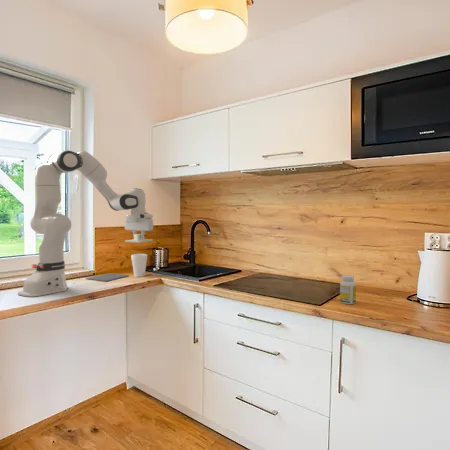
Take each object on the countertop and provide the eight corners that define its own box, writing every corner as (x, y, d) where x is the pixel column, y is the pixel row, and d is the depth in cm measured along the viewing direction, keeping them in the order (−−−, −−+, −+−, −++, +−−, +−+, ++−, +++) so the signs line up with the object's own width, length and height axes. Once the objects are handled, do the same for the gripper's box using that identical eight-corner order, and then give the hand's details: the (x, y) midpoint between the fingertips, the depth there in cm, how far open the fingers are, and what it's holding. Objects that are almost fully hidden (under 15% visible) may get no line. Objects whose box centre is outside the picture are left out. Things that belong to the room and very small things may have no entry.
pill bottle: (354, 301, 148) (355, 275, 148) (356, 305, 142) (357, 277, 142) (339, 300, 150) (339, 274, 150) (340, 304, 144) (340, 277, 143)
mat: (105, 281, 190) (105, 280, 190) (86, 279, 197) (86, 278, 197) (128, 276, 205) (128, 275, 205) (109, 273, 213) (109, 273, 213)
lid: (139, 242, 198) (139, 235, 198) (124, 241, 203) (124, 234, 203) (153, 240, 208) (153, 233, 208) (138, 239, 214) (138, 233, 214)
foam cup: (130, 275, 209) (130, 254, 208) (145, 273, 213) (145, 253, 212) (133, 277, 200) (132, 256, 200) (148, 276, 204) (148, 255, 204)
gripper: (121, 215, 207) (122, 237, 208) (147, 215, 197) (148, 238, 198) (129, 215, 213) (129, 236, 213) (154, 215, 203) (155, 238, 204)
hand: (138, 237), depth 206 cm, fingers closed on lid, 3 cm apart
